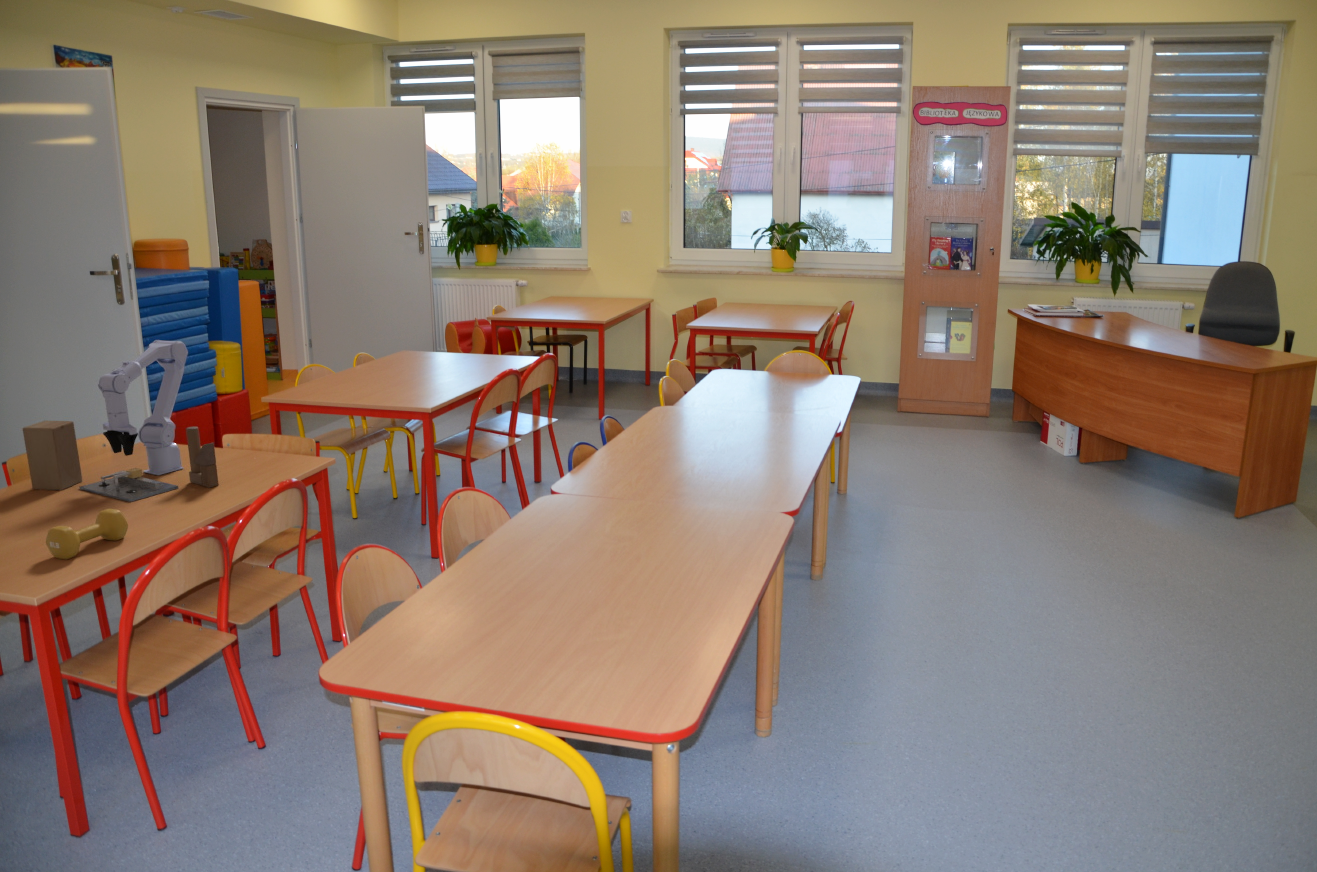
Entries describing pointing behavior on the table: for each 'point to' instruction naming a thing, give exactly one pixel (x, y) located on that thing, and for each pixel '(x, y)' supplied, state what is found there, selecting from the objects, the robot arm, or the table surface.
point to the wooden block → (52, 455)
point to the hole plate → (128, 487)
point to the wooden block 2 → (201, 460)
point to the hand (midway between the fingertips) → (123, 453)
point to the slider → (129, 474)
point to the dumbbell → (86, 533)
